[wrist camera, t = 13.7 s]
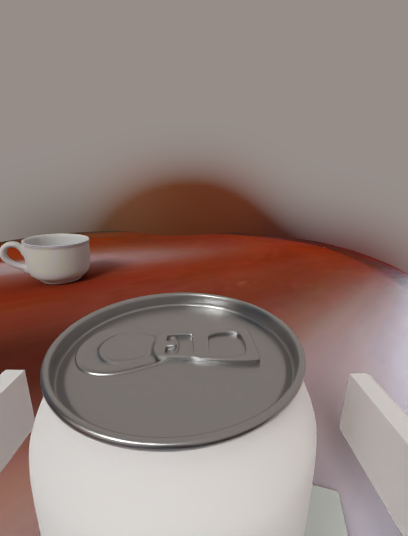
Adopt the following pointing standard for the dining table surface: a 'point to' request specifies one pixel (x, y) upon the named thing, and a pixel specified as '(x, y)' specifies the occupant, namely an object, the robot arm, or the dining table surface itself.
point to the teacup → (52, 257)
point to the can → (174, 423)
